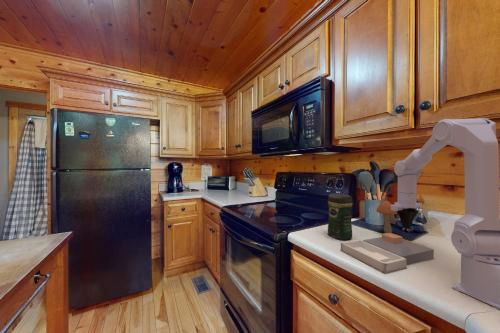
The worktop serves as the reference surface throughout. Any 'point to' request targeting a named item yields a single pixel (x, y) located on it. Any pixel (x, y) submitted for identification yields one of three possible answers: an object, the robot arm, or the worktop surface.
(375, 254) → the cream tile
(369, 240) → the slate board
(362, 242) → the grey bin
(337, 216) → the coffee jar
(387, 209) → the mushroom
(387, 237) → the terracotta tile
